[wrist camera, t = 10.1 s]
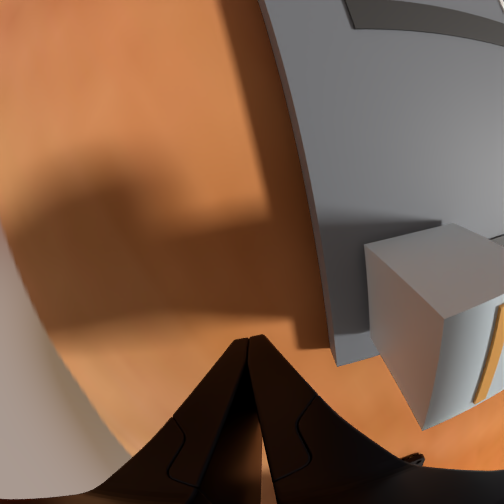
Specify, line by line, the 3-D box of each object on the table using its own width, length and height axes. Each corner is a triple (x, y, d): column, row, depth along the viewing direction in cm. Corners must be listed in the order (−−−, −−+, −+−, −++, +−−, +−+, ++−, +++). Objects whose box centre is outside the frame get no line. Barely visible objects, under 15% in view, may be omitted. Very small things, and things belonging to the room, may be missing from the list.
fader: (449, 310, 10) (519, 382, 5) (370, 337, 10) (423, 433, 6) (453, 222, 9) (550, 272, 4) (364, 244, 9) (446, 322, 4)
